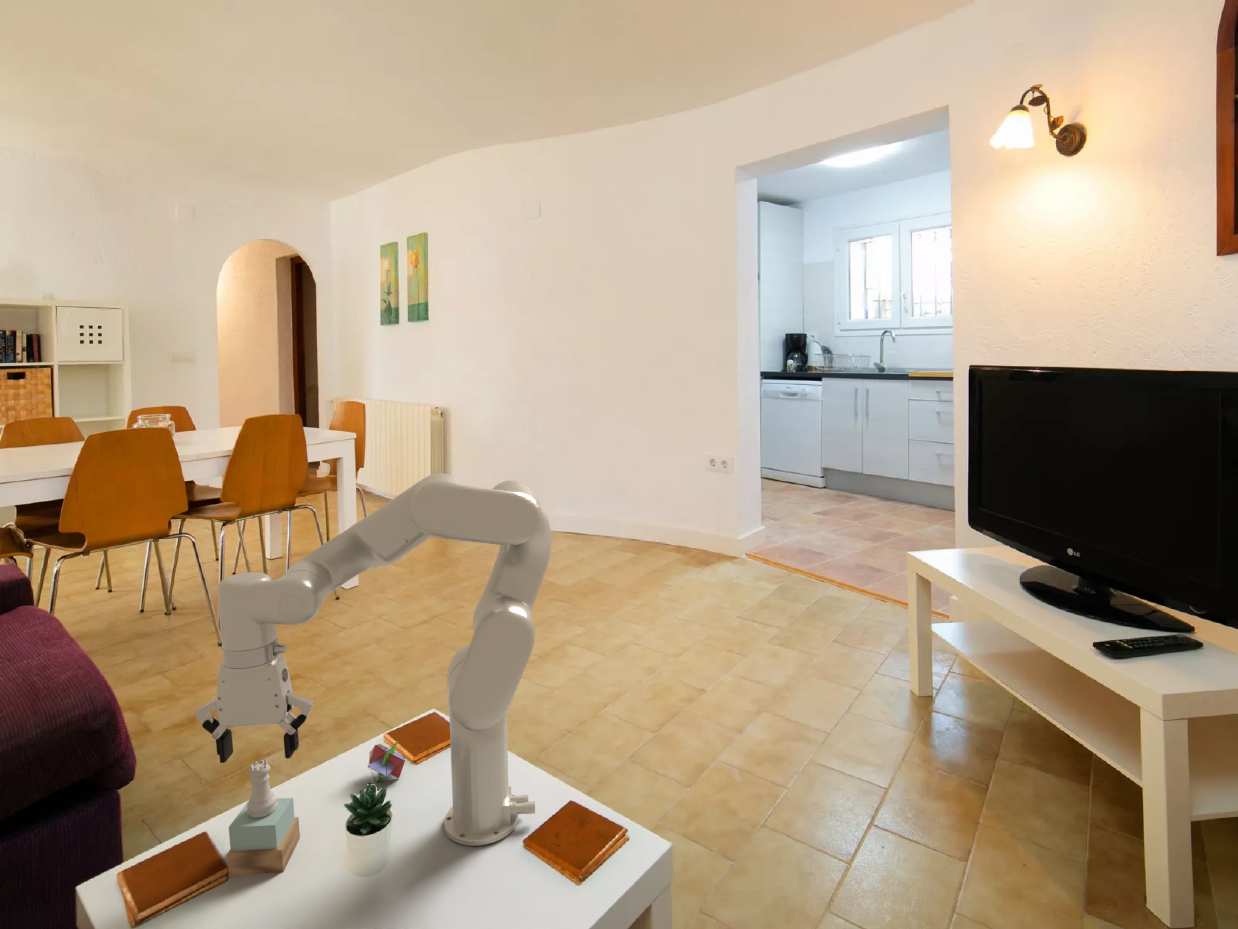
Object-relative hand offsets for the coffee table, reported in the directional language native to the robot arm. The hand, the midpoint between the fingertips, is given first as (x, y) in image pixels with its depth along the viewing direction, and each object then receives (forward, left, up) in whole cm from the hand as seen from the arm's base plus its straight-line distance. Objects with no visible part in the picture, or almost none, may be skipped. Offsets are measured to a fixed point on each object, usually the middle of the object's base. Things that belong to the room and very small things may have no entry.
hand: (259, 756), depth 110 cm
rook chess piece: (0, 0, -10) cm, 10 cm away
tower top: (0, 0, -13) cm, 13 cm away
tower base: (0, 0, -17) cm, 17 cm away
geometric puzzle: (-15, -20, -17) cm, 30 cm away
